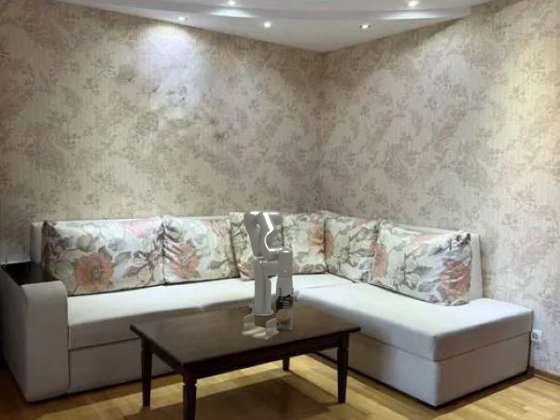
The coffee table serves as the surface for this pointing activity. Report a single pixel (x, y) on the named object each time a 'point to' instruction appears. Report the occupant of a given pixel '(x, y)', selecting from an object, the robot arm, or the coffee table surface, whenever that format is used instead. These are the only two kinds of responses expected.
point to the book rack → (259, 328)
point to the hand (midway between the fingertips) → (284, 306)
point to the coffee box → (285, 314)
